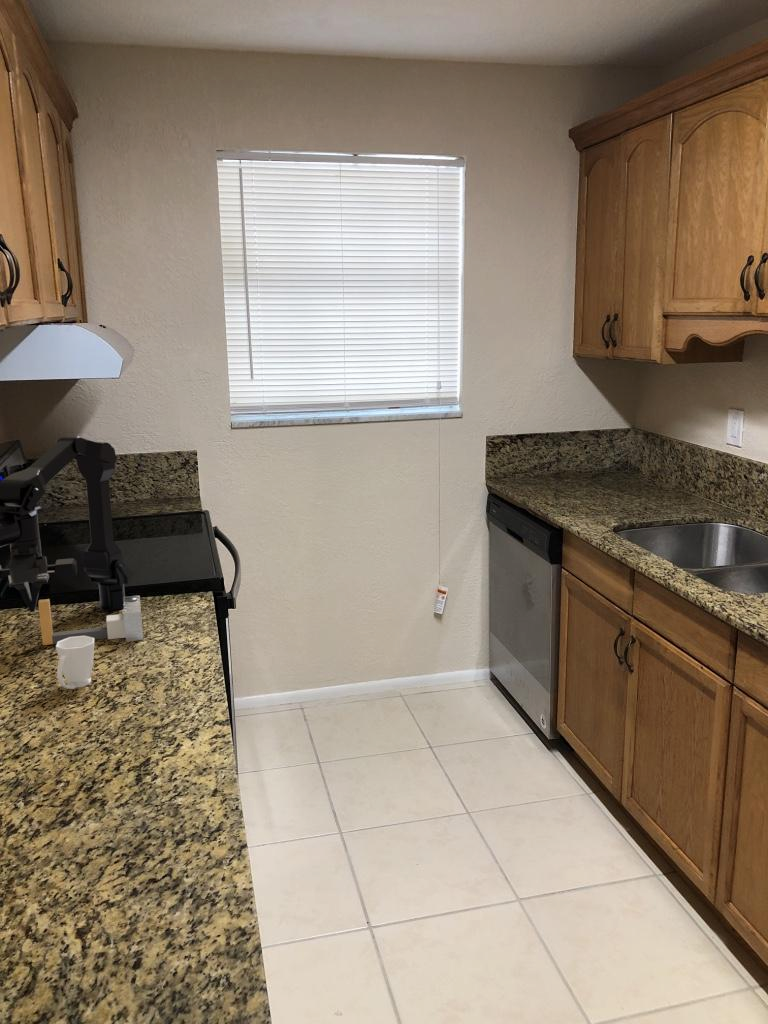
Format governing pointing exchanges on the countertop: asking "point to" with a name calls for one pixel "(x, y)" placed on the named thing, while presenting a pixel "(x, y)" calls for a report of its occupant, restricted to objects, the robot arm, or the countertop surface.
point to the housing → (133, 618)
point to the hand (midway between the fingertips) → (32, 611)
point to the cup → (75, 661)
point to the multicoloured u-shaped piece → (48, 637)
